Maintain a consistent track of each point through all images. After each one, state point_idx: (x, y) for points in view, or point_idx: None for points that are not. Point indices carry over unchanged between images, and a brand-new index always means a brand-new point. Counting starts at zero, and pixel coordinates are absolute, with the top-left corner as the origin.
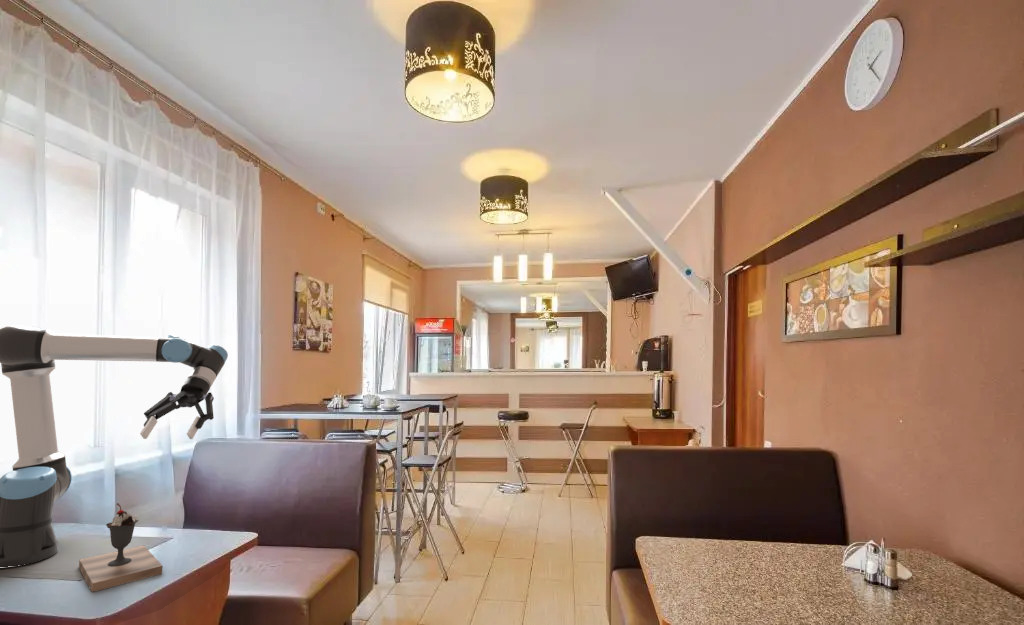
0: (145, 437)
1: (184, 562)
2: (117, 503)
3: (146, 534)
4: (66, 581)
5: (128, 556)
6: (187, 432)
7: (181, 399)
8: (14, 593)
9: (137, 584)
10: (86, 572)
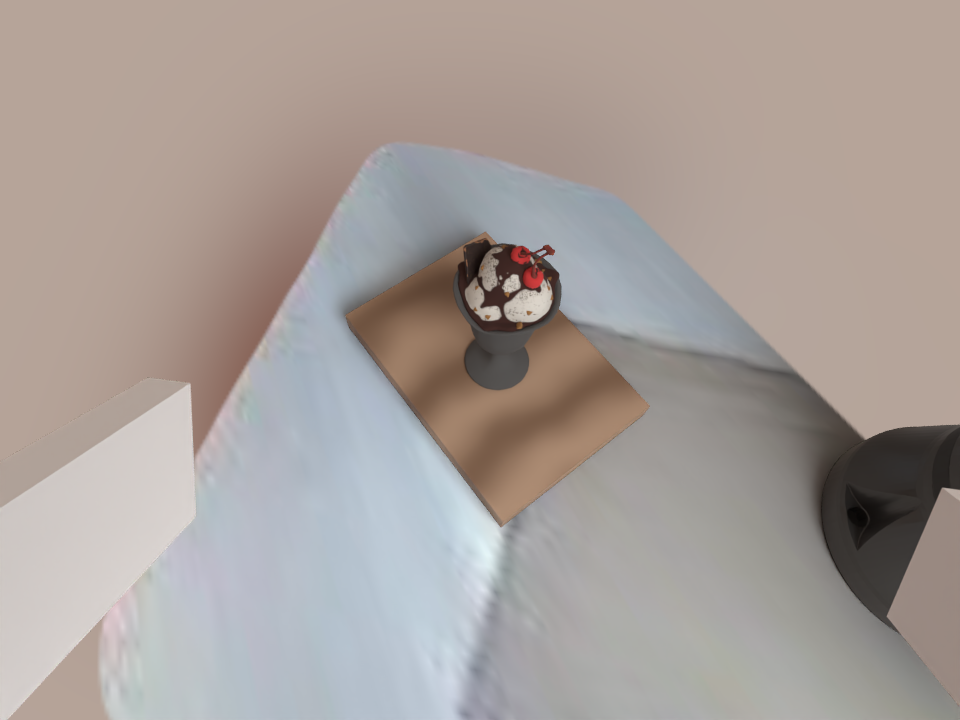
0: (903, 590)
1: (309, 406)
2: (549, 246)
3: None
4: (601, 319)
5: (497, 409)
6: (172, 394)
7: None
8: (680, 269)
9: (389, 271)
10: None
